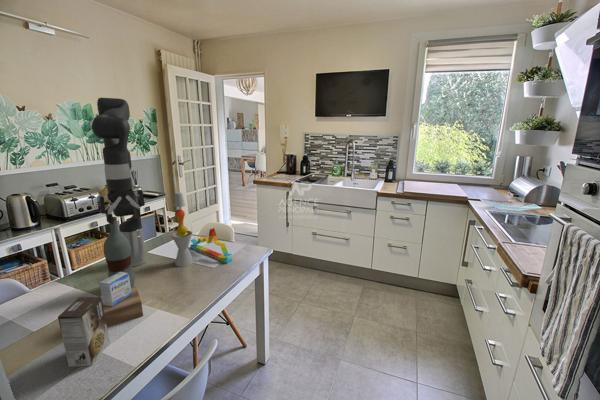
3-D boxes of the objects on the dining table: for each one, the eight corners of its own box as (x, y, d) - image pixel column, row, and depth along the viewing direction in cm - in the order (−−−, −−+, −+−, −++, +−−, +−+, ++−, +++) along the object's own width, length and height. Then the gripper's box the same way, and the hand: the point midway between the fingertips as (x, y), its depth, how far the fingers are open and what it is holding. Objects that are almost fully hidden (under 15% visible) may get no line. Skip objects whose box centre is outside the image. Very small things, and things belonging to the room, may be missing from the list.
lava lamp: (170, 263, 138) (163, 193, 130) (186, 256, 146) (181, 189, 137) (181, 268, 134) (175, 195, 125) (198, 261, 141) (193, 192, 132)
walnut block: (100, 311, 103) (97, 296, 101) (138, 300, 110) (136, 286, 108) (102, 330, 93) (99, 314, 92) (143, 316, 100) (141, 301, 99)
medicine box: (112, 307, 95) (108, 284, 93) (102, 305, 97) (98, 282, 94) (132, 294, 103) (129, 272, 101) (122, 292, 104) (119, 271, 102)
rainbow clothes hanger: (190, 248, 157) (188, 222, 153) (195, 246, 159) (193, 220, 155) (227, 264, 139) (225, 235, 136) (232, 262, 142) (230, 233, 138)
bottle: (141, 284, 120) (131, 216, 112) (119, 295, 112) (108, 222, 104) (126, 279, 124) (116, 212, 116) (104, 289, 115) (92, 219, 108)
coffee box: (88, 343, 87) (79, 296, 83) (110, 342, 88) (102, 295, 84) (67, 367, 79) (56, 316, 75) (92, 366, 79) (82, 315, 75)
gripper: (135, 173, 107) (140, 214, 111) (90, 177, 96) (97, 223, 100) (144, 175, 103) (149, 218, 107) (98, 180, 92) (106, 228, 96)
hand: (124, 220), depth 103 cm, fingers open, 8 cm apart
